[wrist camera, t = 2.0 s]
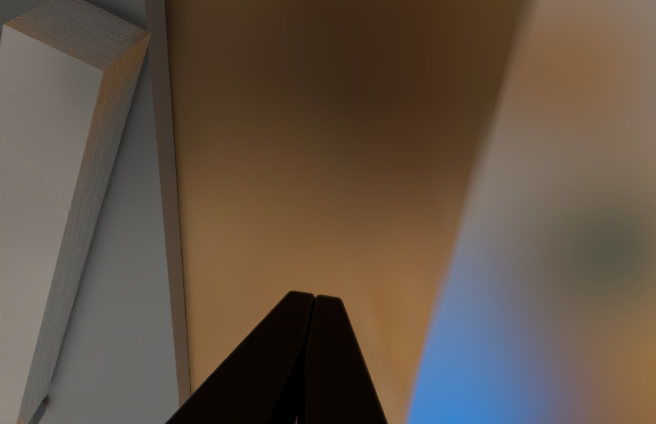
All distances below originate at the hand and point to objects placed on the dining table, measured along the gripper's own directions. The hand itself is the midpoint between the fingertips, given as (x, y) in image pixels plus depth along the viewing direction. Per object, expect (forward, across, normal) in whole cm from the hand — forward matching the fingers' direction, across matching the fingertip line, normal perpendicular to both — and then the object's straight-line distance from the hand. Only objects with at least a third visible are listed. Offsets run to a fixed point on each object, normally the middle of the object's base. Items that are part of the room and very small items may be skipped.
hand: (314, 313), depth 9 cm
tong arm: (+3, +7, +3) cm, 8 cm away
